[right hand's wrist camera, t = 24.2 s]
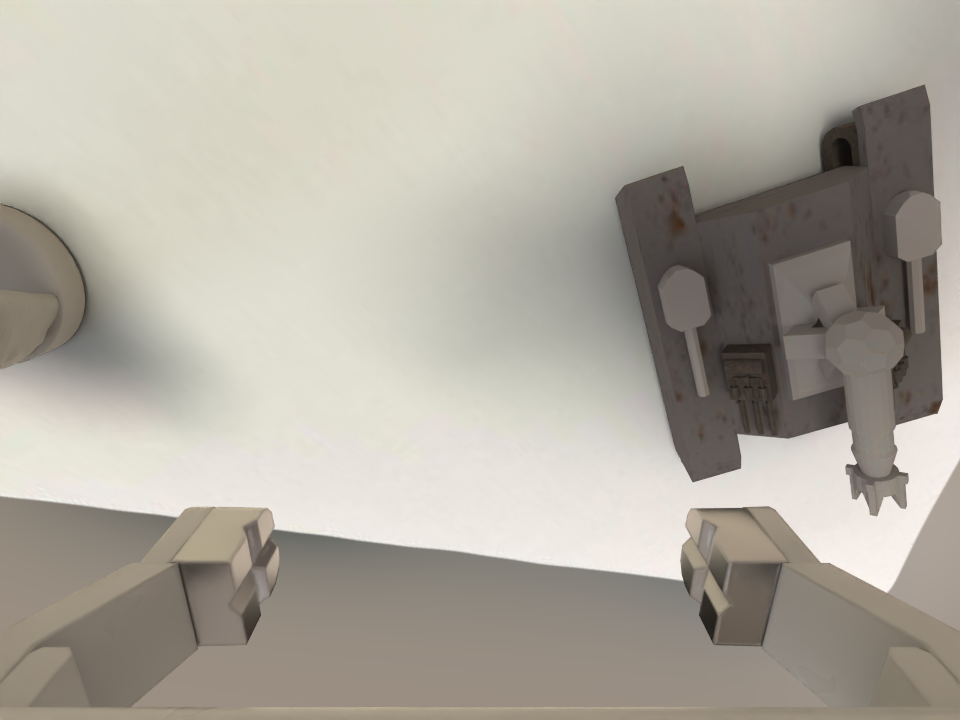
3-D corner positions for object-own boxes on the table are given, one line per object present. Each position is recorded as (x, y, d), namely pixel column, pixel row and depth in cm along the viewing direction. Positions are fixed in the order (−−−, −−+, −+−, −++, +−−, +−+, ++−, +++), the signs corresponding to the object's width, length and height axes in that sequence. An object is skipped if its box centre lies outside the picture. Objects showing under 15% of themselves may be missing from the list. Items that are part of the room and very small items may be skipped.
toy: (607, 183, 42) (672, 194, 28) (872, 92, 40) (1088, 53, 26) (673, 454, 50) (748, 568, 36) (895, 391, 48) (1067, 487, 34)
